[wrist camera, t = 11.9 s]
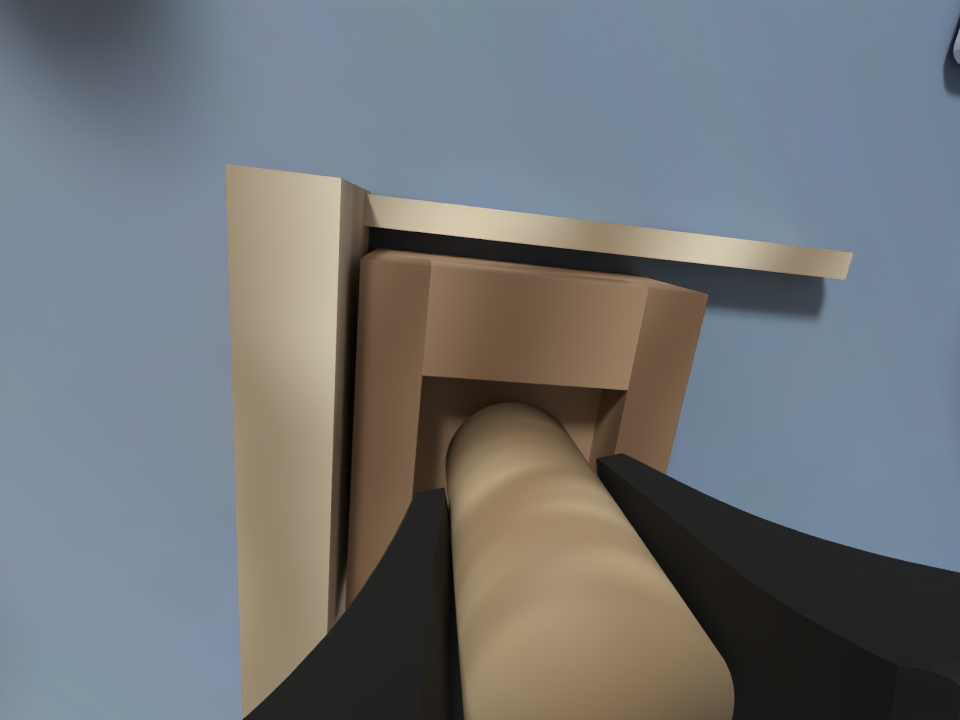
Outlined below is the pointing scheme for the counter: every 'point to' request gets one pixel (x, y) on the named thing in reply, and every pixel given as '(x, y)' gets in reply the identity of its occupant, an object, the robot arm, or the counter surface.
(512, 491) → the oak dowel
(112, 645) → the counter surface
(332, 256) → the birch rail and backstop
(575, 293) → the walnut block
